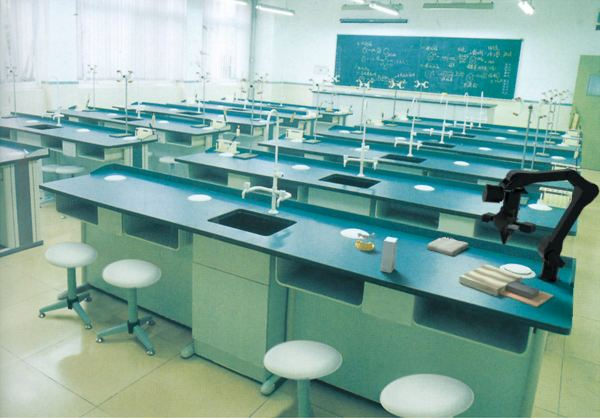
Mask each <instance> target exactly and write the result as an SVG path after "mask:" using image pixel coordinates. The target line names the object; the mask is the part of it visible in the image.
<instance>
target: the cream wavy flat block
mask: <svg viewBox="0 0 600 418" xmlns="http://www.w3.org/2000/svg"><path fill="white" fill-rule="evenodd" d="M522 278H523V276H522V275H520V274H518V273H514V272H511V271H508V270H504V269H501V268H498V267H495V266H493V265H489V264H484V265H481V266H479V267H477V268H475V269H473V270H469V271H468V272H466V273H464V274H461V275H460V276H459V280H458V283H460V284H462V285H465V286H467V287H470V288H473V289H476V290H478V291H481V292H484V293H486V294H489V295H492V296H494V297H497V296H499V295H501V294H500V293H501V292H503V291H504V290H506V285H508V284H509V283H511V282H513V281H515V282H518V283H521V284H522Z"/></svg>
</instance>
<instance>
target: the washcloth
mask: <svg viewBox="0 0 600 418" xmlns="http://www.w3.org/2000/svg"><path fill="white" fill-rule="evenodd" d="M449 238H450V239H449ZM468 248H469V243H468V242H466V241H461V240H456V239H455V238H453V237H447V238H446V236H444V237H438V238H437V239H435V240H433V241H431V242H429V243H427V245H426V249H428V250H430V251H432V252H433V251H434V252H437V253H439V254H443V255H446V256H451V257H452V256H454V255H456V254H458V253H460V252H462V251H464V250H465V249H468Z"/></svg>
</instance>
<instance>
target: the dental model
mask: <svg viewBox="0 0 600 418" xmlns="http://www.w3.org/2000/svg"><path fill="white" fill-rule="evenodd" d="M356 234H357V237H358V238H360V237H362V238H363V239H365V240H366V239H369V238H370V237H372V238H373V239H374V238H376V233H375V232H372V233H371V234H369V235H367V234H366V235H365V234H362V233H361V232H358V233H356ZM354 247H355V248H357V249H358V250H361V251H364V252H365V251H374V249H375V245H374V243H372V242H371V241H369V242H363V241H361V240H358V239H357V240H356V241H355V246H354Z"/></svg>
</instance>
